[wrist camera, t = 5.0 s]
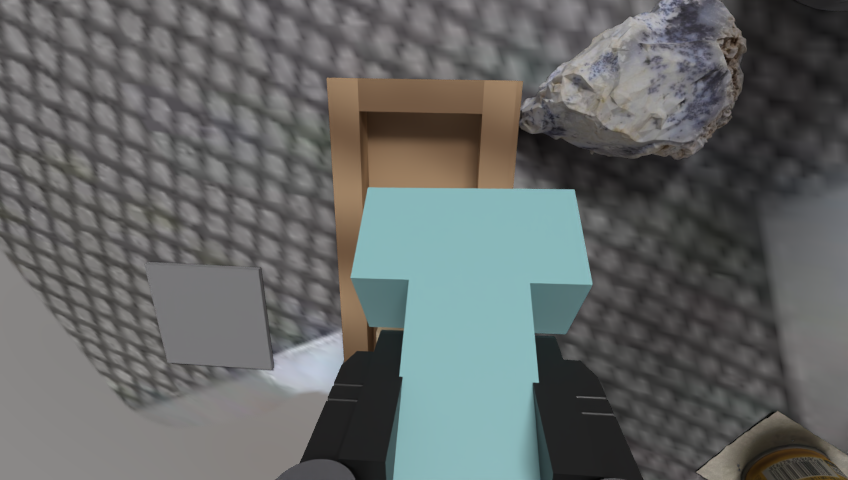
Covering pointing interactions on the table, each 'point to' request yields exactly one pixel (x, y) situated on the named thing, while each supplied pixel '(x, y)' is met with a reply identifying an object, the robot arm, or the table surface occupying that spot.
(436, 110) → the slot board
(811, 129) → the table surface
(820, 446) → the condiment
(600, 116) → the mineral specimen
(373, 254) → the teal t-shaped block
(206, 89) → the table surface
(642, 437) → the table surface
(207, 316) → the mat
